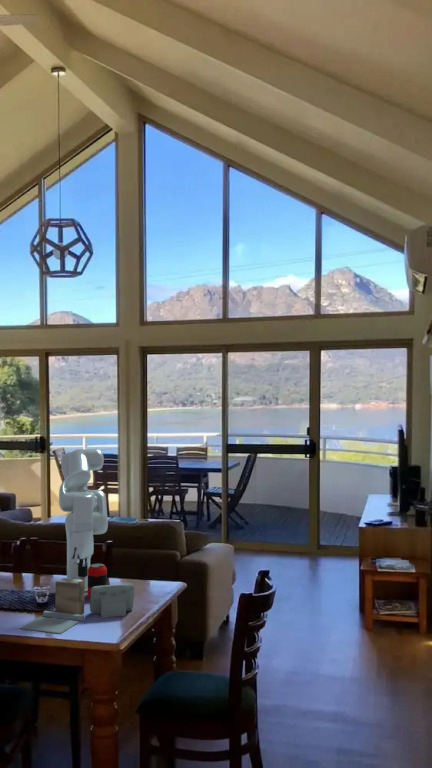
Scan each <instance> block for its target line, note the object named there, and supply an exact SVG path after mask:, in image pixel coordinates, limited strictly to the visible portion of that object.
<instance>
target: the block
mask: <svg viewBox="0 0 432 768" xmlns="http://www.w3.org/2000/svg"><path fill="white" fill-rule="evenodd" d="M54 598H55V599H54V600H55V601H54V602H55V609H54V612H60V613H69V614H78V615H85V592H84V580H78V579H67V577H64V578H60V579H58V580H56V581H55V597H54Z"/></svg>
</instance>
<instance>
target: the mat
mask: <svg viewBox="0 0 432 768" xmlns="http://www.w3.org/2000/svg"><path fill="white" fill-rule="evenodd" d="M79 623H80V621H79V620H71V619H62V618H54V617H46V616H39V617H37V618H35V619H33V620H31V621H29V622H27V623H26V624H24V625H22V626H21V627H19V630H25V631H34V632H41V633H50V634H59V635H62V634H63V633H65V632H66V631H68V630H70V629H72V628H73V627H75V626H77V625H78V624H79Z"/></svg>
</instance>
